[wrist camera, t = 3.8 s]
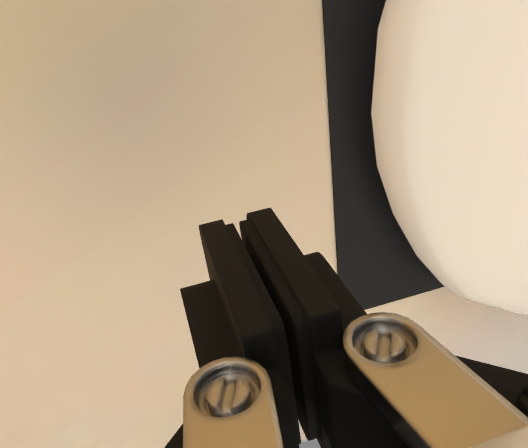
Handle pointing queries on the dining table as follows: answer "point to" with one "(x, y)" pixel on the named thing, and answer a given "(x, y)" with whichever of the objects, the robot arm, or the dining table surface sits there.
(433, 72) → the plate
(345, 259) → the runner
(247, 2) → the dining table surface
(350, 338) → the robot arm
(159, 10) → the dining table surface
